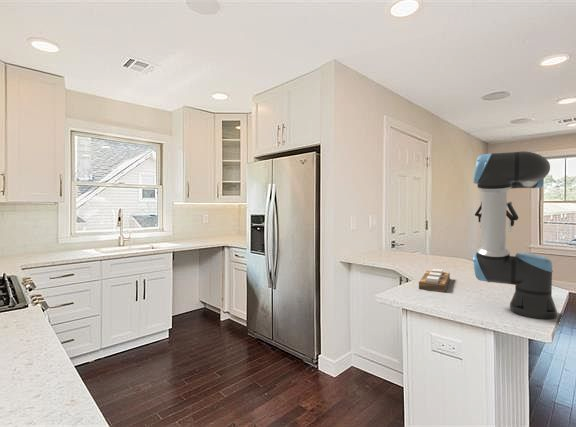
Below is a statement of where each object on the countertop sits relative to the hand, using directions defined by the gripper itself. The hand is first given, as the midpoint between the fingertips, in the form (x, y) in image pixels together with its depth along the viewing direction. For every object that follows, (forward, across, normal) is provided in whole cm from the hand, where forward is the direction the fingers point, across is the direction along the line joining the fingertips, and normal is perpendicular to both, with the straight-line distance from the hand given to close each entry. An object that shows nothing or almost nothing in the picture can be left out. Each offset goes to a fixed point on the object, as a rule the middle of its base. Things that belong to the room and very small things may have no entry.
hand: (495, 229), depth 179 cm
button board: (+19, +18, +38) cm, 46 cm away
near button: (+13, +15, +46) cm, 50 cm away
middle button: (+16, +18, +37) cm, 44 cm away
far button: (+19, +21, +28) cm, 40 cm away
